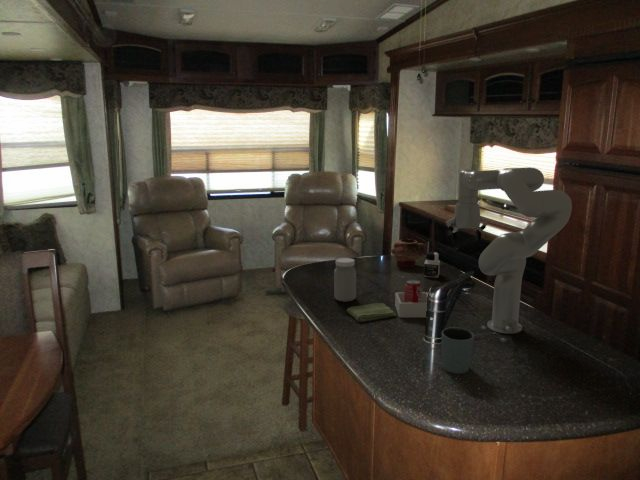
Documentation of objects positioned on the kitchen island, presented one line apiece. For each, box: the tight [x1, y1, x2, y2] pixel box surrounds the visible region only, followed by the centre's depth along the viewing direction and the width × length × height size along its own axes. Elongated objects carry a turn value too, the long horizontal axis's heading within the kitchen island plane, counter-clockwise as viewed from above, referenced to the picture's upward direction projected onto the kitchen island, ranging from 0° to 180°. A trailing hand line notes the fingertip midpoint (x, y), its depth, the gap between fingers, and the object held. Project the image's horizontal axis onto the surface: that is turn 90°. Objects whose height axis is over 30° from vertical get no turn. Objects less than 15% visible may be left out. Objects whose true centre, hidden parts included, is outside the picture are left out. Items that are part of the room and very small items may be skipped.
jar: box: [333, 257, 357, 303], centre depth 236 cm, size 10×10×18 cm
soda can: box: [403, 279, 423, 303], centre depth 221 cm, size 7×7×12 cm
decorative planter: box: [390, 238, 428, 269], centre depth 289 cm, size 20×12×14 cm, turn 105°
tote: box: [394, 291, 429, 318], centre depth 221 cm, size 14×14×6 cm
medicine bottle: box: [423, 251, 441, 279], centre depth 270 cm, size 7×7×12 cm
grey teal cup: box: [441, 326, 475, 375], centre depth 171 cm, size 10×10×12 cm
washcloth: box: [346, 302, 397, 323], centre depth 219 cm, size 13×18×3 cm
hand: (466, 241), depth 221 cm, fingers open, 9 cm apart
